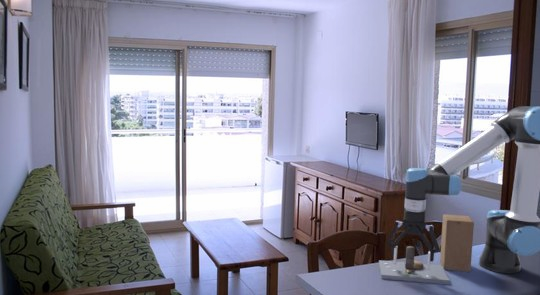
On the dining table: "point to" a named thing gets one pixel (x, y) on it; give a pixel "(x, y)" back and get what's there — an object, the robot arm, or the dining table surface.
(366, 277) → the dining table surface
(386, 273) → the board
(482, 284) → the dining table surface
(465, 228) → the wooden block
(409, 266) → the dial
